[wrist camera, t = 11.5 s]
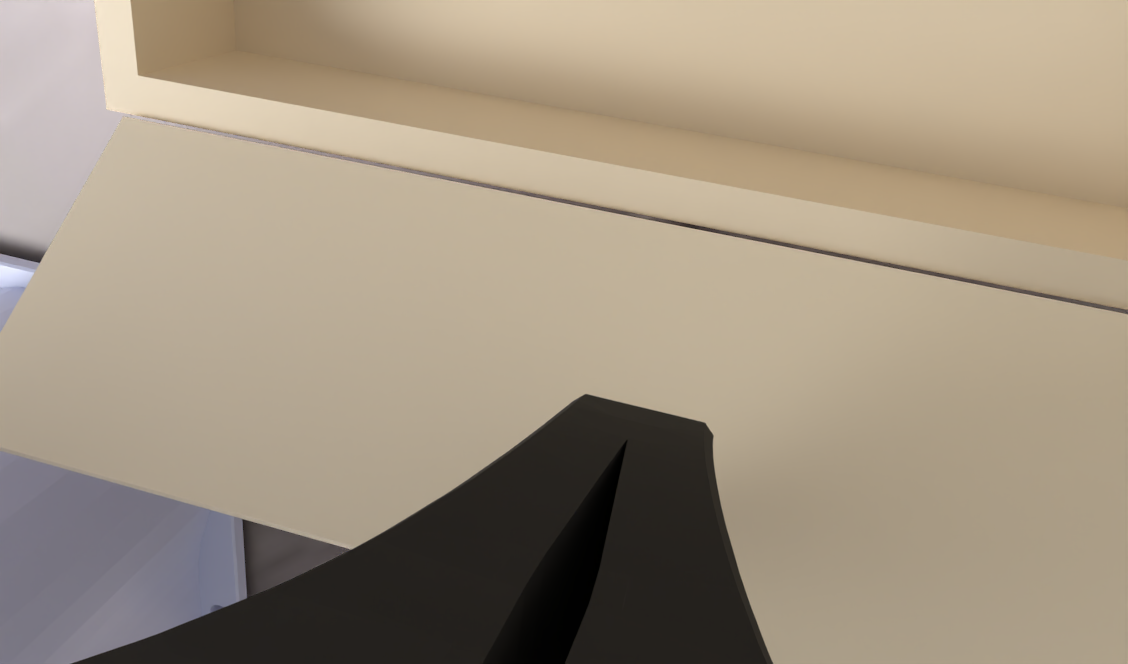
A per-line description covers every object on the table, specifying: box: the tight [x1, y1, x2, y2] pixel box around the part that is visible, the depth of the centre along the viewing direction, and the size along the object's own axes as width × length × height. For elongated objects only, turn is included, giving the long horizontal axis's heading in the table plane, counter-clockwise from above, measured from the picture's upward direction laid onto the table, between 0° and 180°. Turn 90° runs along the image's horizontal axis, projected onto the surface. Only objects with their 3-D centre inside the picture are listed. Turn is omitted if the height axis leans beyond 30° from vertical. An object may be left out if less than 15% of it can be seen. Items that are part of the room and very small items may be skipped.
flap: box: [0, 116, 1128, 664], centre depth 11 cm, size 5×17×1 cm
